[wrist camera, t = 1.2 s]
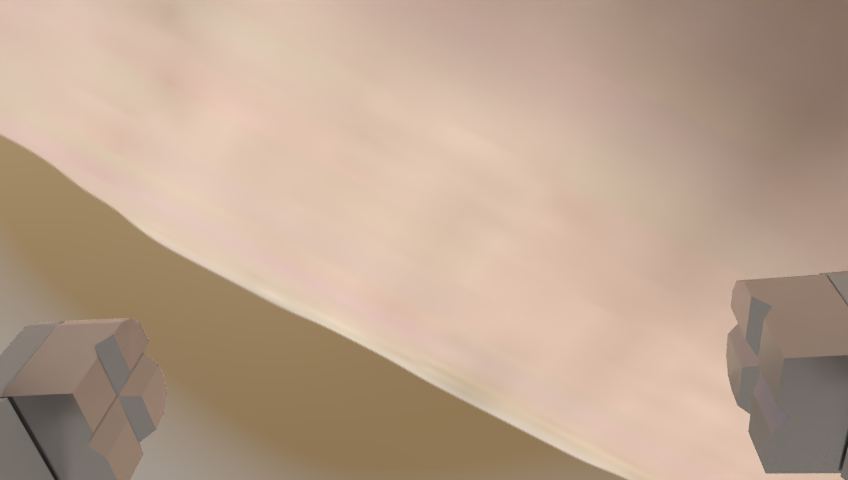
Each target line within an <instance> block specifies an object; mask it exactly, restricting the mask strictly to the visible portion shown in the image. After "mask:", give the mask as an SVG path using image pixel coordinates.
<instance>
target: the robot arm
mask: <svg viewBox="0 0 848 480" xmlns="http://www.w3.org/2000/svg"><path fill="white" fill-rule="evenodd" d="M731 308H732V311H733V313H734V315H735V317H736V319H737V322H738V324H737V325H736V326H735V327H734V328H733V329H732V331H731V332H730V333H729V334H728V339H727V353H726V357H727V368H728V377H729V381H730V385H731V389H732V392H733V394H734V397H735V400H736V402H737V405H738V406H739V407H741V408H742V409H744V410H745V411H747V412H748V413H750V414H751V415H750V423H749V431H748V432H749V434H750V437H751V439H752V441H753V444H754V446H755V449H756V451H757V453H758V456H759V458H760V461H761V463H762V465H763V468H764V470H765V473H841V477H842V478H843V479H844V480H848V271H842V272H831V273H821V274H819V275H809V276H795V277H781V278H767V279H753V280H739V281H736V283H735V286H734V289H733V293H732V301H731ZM148 342H149V340H148V338H147V336H146V334H145V331H144V329H143V327H142V325H141V323H140V322H138V321H136V320H133V319H131V318H125V319H123V318H122V319H98V320H75V321H66V322H65V321H55V322H41V323H40V322H39V323H34V324H31V325H28V326H26V327H24V329H23V330H22V331H21V332H20V333H19V334H18V335H17V337H16V338H15V339H14V340H13V341H12V342H11V343H10V345H9V346H8V347H7V348H6V349H5V350H4V351H3V353H2V354H1V355H0V480H130V479H131V477H132V475H133V473H134V471H135V469H136V467H137V466H138V464H139V462H140V460H141V458H142V456H143V451H142V448H141V445H140V441H142V440H143V439H144V438H146V437H147V436H148V435H150V434H151V433H152V432H154V431H155V430H156V429H157V427H158V425H159V423H160V421H161V419H162V416H163V414H164V409H165V403H166V396H167V392H166V385H165V379H164V376H163V373H162V371H161V368H160V366H159V365H158V364H157V363H156V362H155V361H153V360H152V359H151V358H149V357H148V356H147V355H145V354H144V352H145V350H146V347H147V345H148Z"/></svg>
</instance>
